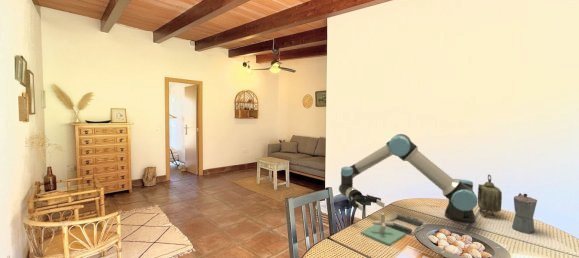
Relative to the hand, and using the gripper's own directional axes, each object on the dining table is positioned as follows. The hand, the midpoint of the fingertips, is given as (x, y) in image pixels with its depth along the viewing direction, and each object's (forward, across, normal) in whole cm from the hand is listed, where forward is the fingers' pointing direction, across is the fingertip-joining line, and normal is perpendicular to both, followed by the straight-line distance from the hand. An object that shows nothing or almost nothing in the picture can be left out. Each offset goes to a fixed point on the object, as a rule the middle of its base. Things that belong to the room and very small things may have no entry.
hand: (373, 206), depth 143 cm
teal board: (+10, 0, -11) cm, 15 cm away
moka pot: (+25, -75, -12) cm, 80 cm away
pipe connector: (+10, 0, -10) cm, 14 cm away
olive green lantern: (+5, -77, -12) cm, 78 cm away
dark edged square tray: (+3, -18, -11) cm, 22 cm away
